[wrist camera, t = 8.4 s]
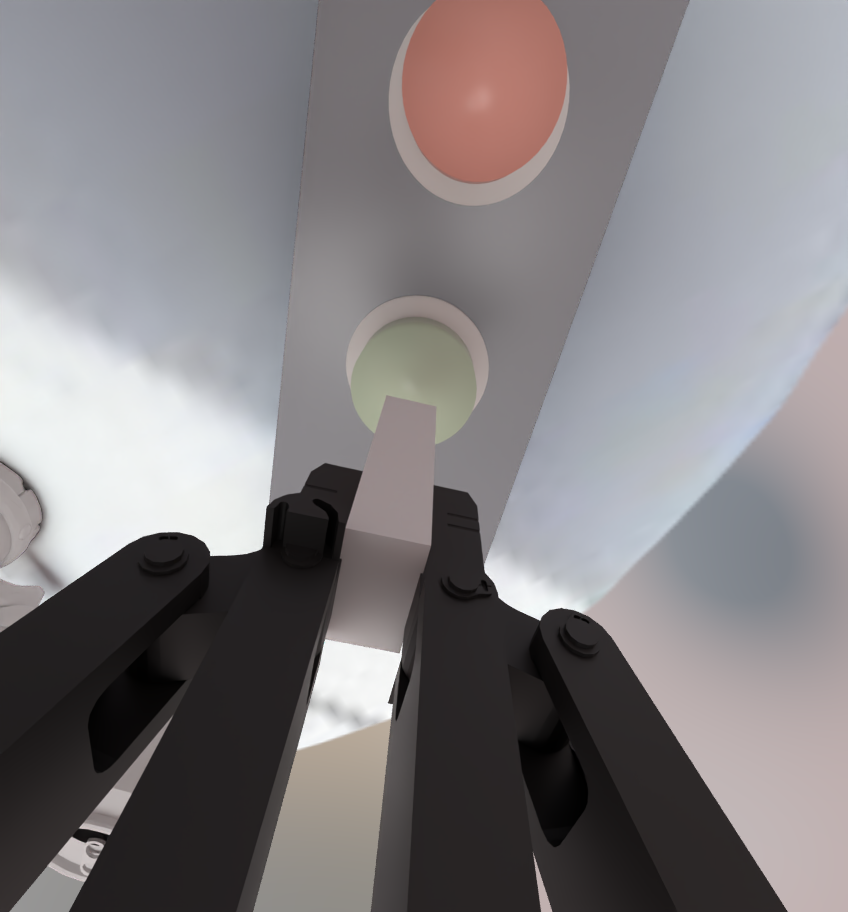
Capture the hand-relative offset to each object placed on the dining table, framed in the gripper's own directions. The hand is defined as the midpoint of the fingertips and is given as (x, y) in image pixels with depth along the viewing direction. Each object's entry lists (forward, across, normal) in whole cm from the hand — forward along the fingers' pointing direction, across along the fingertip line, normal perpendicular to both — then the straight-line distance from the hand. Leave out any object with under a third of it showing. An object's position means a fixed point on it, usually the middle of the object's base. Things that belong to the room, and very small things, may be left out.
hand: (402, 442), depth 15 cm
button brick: (+7, 0, +10) cm, 12 cm away
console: (+11, 0, 0) cm, 11 cm away
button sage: (+7, 0, 0) cm, 7 cm away
